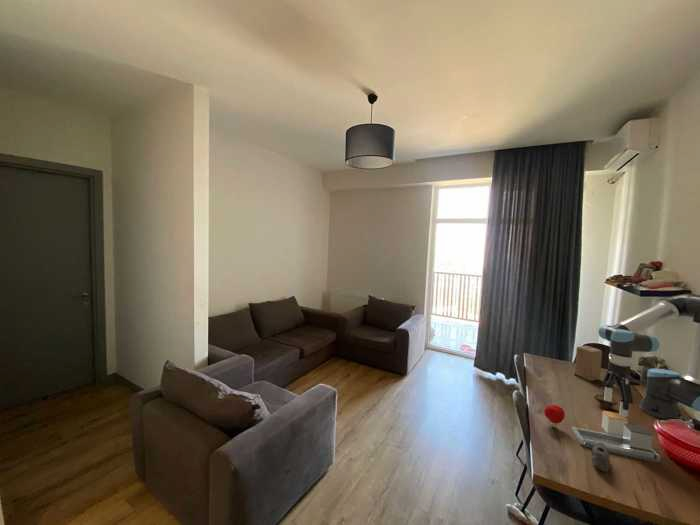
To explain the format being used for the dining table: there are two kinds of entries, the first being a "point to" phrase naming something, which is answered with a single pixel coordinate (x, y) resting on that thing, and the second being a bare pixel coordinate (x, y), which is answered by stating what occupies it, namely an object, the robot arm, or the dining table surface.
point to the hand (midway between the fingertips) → (615, 408)
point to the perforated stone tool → (600, 457)
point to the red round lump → (554, 414)
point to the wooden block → (588, 362)
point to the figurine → (605, 403)
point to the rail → (621, 441)
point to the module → (613, 423)
